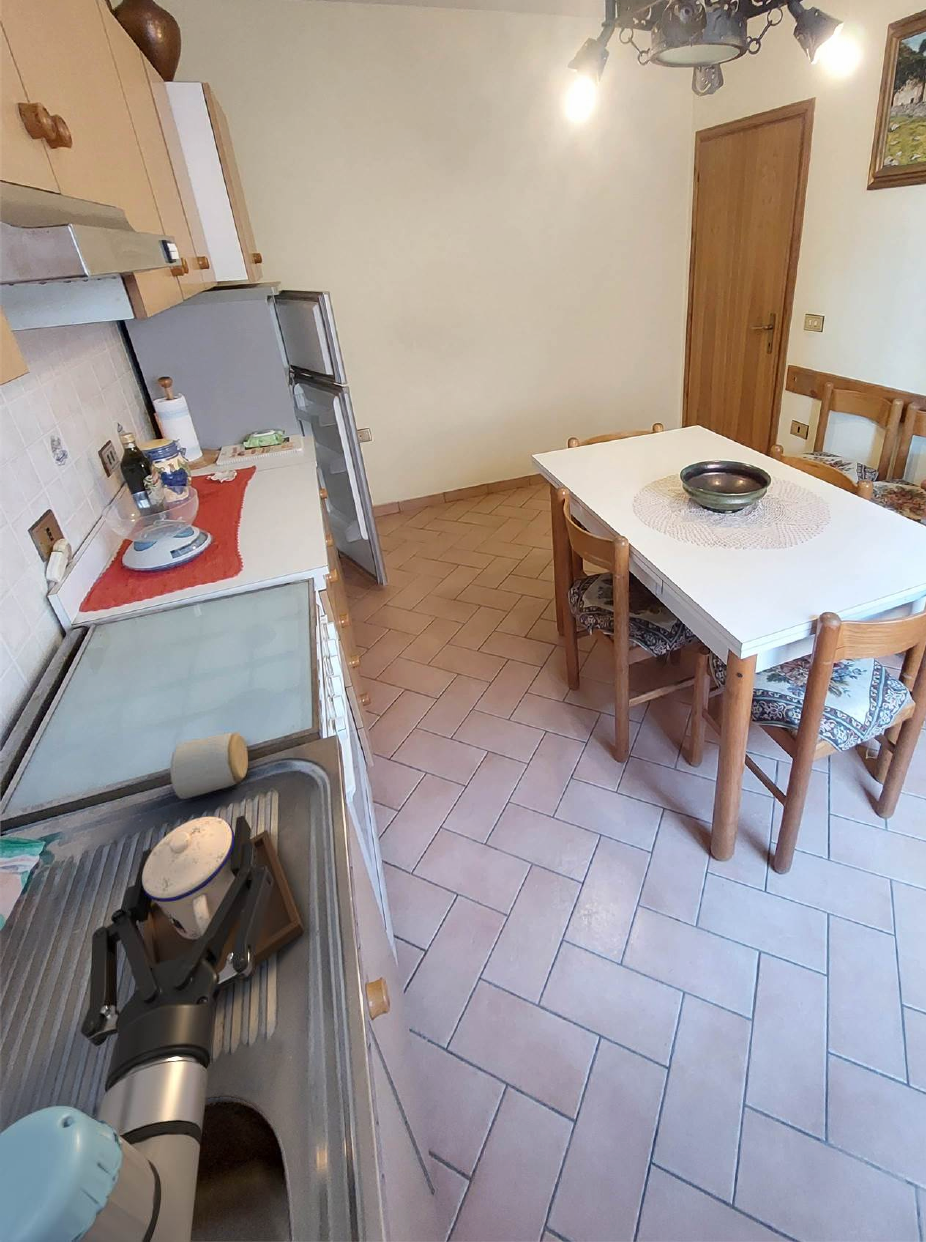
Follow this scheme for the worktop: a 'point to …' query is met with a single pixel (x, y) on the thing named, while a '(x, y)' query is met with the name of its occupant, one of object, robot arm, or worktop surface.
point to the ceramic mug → (208, 764)
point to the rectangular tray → (275, 928)
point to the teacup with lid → (191, 873)
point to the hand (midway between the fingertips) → (198, 840)
